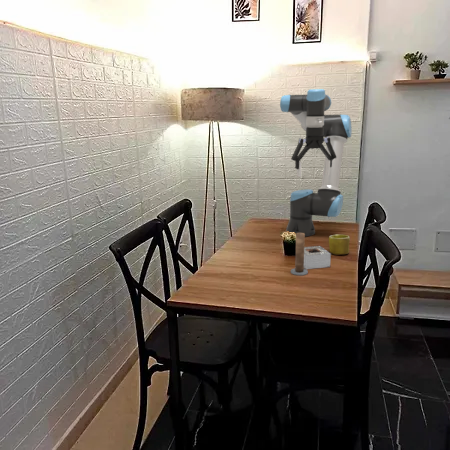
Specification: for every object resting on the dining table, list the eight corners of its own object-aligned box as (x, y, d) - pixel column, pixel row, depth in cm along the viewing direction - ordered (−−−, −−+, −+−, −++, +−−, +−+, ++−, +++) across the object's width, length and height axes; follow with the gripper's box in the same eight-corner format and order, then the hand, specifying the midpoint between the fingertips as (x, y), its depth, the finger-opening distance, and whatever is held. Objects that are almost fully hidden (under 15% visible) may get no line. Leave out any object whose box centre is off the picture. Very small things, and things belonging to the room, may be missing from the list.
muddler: (297, 272, 178) (298, 235, 174) (293, 269, 181) (294, 232, 177) (304, 272, 179) (306, 234, 174) (301, 269, 182) (302, 232, 178)
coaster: (288, 270, 183) (288, 268, 182) (303, 268, 184) (303, 267, 184) (294, 276, 176) (294, 274, 176) (310, 274, 178) (310, 273, 177)
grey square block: (296, 260, 194) (296, 247, 192) (319, 258, 196) (319, 245, 194) (305, 269, 183) (306, 255, 182) (330, 266, 186) (330, 253, 184)
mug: (354, 253, 196) (347, 232, 196) (331, 259, 199) (325, 238, 199) (353, 250, 208) (347, 230, 208) (332, 255, 210) (326, 235, 210)
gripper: (290, 128, 182) (289, 178, 188) (345, 126, 187) (343, 175, 193) (284, 127, 189) (283, 175, 195) (337, 125, 194) (335, 172, 200)
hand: (313, 175), depth 194 cm, fingers open, 13 cm apart
